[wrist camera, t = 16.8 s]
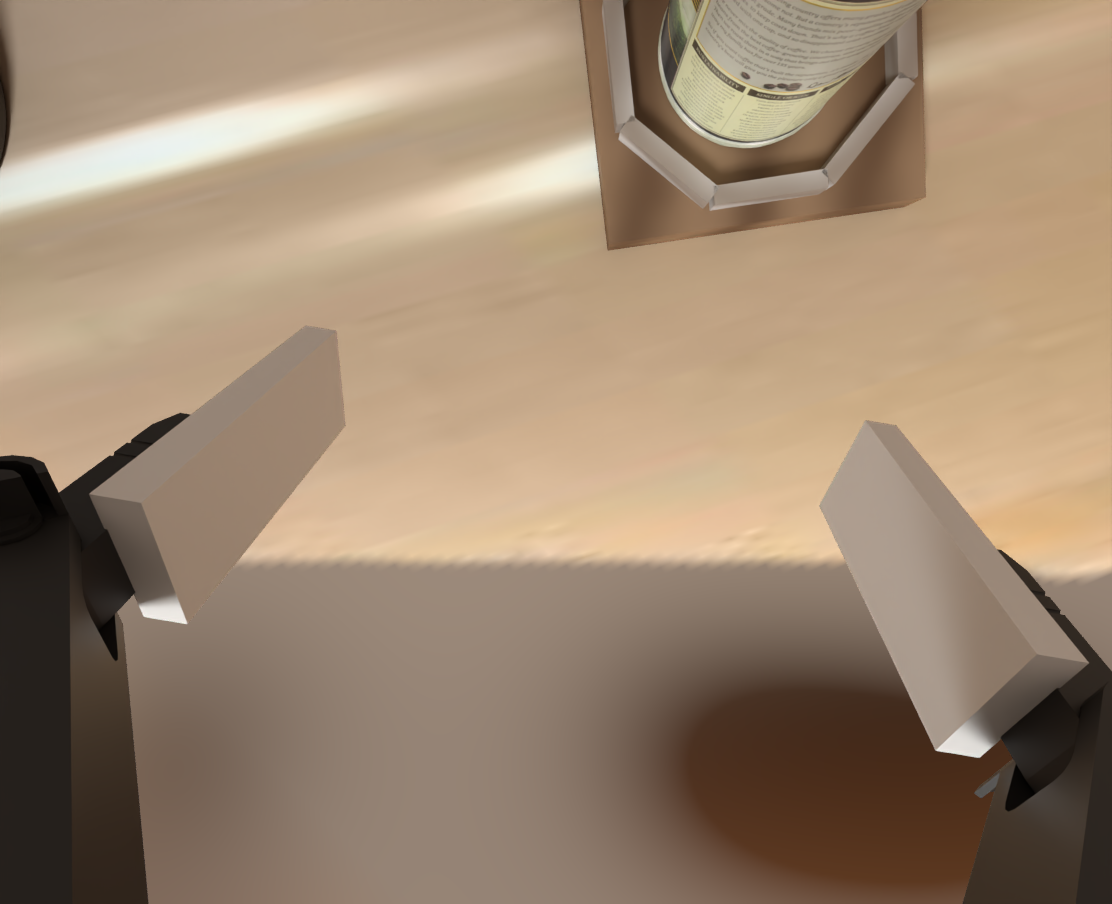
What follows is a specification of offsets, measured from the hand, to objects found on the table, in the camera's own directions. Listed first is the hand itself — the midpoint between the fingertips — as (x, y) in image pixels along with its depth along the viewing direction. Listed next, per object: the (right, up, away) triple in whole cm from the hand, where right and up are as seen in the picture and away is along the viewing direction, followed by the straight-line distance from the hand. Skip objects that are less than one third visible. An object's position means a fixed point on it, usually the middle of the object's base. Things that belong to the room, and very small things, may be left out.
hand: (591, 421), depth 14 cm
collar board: (+10, +22, +18) cm, 30 cm away
